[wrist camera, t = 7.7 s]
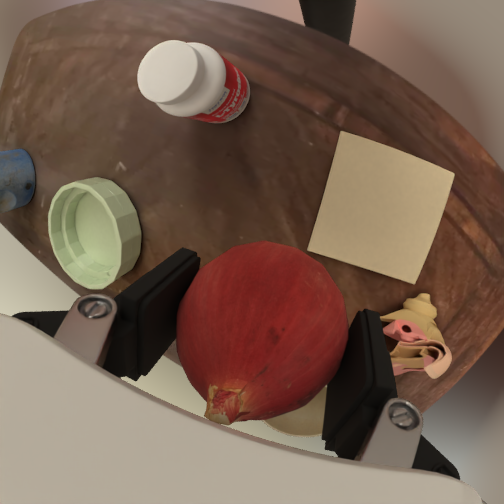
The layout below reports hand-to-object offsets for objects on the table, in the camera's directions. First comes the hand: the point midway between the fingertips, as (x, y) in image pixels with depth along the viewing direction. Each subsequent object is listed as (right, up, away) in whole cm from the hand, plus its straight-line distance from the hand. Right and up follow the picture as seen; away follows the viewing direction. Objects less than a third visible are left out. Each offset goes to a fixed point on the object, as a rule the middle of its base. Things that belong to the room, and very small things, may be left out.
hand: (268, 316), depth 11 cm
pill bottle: (-4, +18, +16) cm, 24 cm away
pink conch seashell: (+17, -6, +19) cm, 26 cm away
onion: (+1, +1, +3) cm, 3 cm away
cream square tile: (+12, +6, +16) cm, 21 cm away
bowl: (-20, +5, +24) cm, 32 cm away
